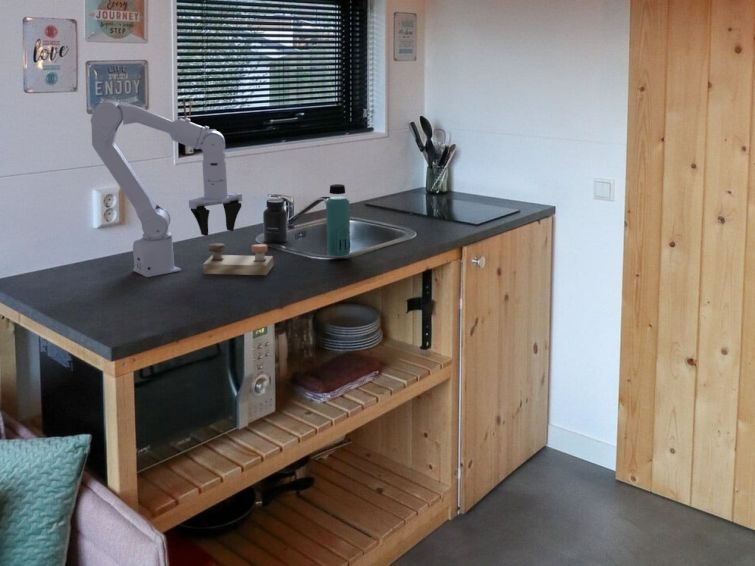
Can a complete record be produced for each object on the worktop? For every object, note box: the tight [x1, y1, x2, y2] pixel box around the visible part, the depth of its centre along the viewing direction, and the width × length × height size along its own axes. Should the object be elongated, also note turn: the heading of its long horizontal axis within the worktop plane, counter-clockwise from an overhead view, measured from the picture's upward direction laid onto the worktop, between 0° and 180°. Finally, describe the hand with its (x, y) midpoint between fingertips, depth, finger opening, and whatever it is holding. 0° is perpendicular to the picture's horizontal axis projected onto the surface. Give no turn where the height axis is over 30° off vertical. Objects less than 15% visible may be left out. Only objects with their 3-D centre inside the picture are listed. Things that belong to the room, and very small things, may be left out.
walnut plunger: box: [208, 242, 226, 260], centre depth 218 cm, size 4×4×4 cm
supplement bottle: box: [262, 198, 288, 244], centre depth 246 cm, size 7×7×12 cm
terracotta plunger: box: [250, 243, 268, 261], centre depth 217 cm, size 4×4×4 cm
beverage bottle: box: [325, 184, 351, 257], centre depth 226 cm, size 6×7×20 cm
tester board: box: [202, 254, 274, 276], centre depth 218 cm, size 16×9×2 cm, turn 85°
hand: (217, 232), depth 217 cm, fingers open, 7 cm apart
